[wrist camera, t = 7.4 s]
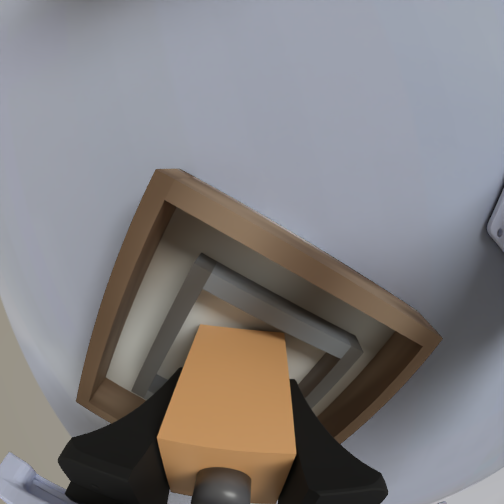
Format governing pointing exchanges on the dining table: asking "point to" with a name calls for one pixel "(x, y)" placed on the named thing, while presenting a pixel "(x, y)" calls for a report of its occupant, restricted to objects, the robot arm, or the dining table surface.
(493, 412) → the dining table surface
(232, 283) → the walled box
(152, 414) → the robot arm
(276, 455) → the tan tall block
